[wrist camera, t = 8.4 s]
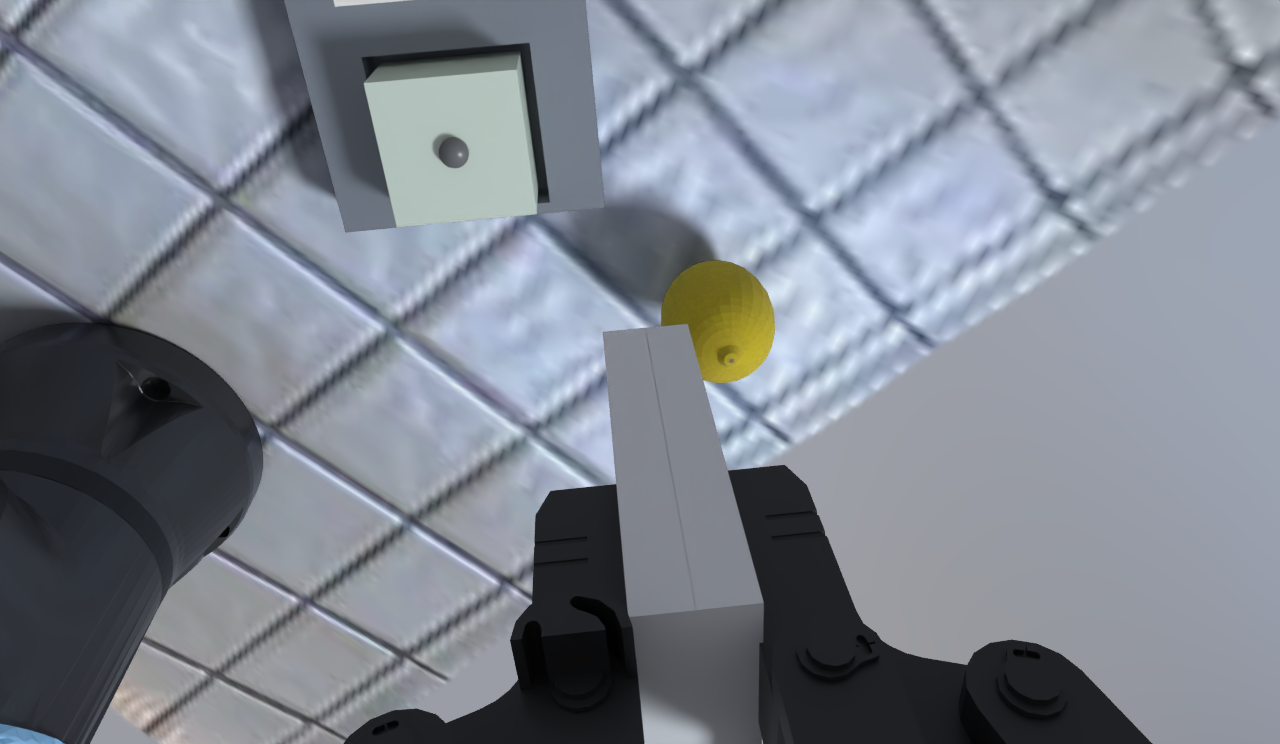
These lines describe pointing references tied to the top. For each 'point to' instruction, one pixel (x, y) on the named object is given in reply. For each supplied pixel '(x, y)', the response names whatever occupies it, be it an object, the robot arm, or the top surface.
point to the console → (443, 27)
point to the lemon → (722, 318)
